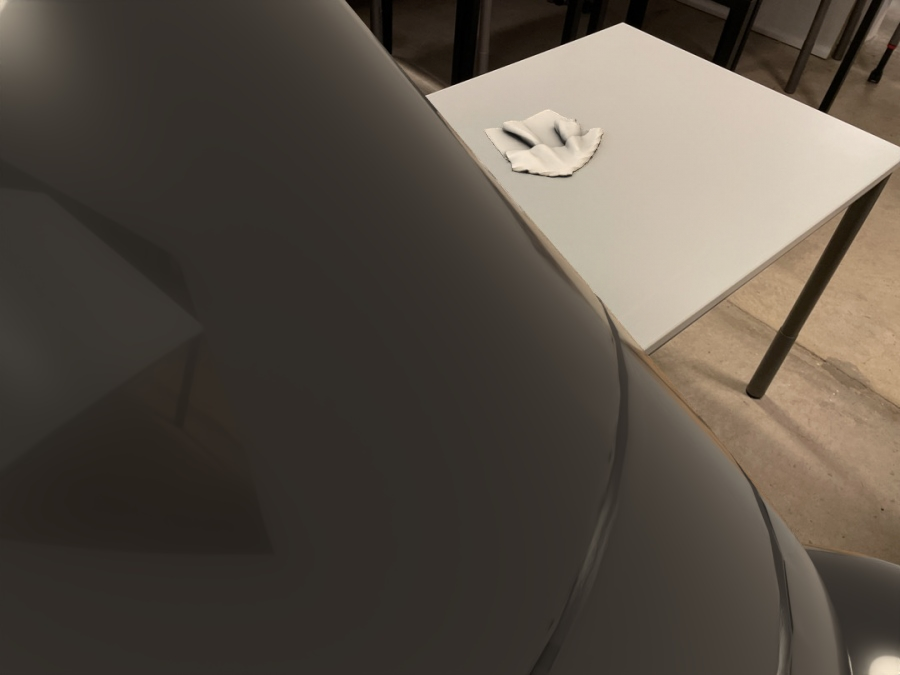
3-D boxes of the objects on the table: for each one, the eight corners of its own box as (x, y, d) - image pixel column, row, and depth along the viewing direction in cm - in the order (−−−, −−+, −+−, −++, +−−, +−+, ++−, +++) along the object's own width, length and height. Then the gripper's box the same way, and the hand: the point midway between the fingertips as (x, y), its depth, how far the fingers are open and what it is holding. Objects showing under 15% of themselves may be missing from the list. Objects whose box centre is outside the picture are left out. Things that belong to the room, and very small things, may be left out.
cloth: (507, 180, 100) (509, 166, 98) (475, 112, 115) (476, 98, 113) (632, 174, 104) (636, 160, 102) (585, 108, 119) (588, 95, 117)
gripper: (537, 429, 29) (401, 413, 44) (225, 599, 23) (187, 514, 38) (591, 580, 30) (440, 514, 45) (303, 781, 24) (237, 630, 39)
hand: (324, 514), depth 41 cm, fingers open, 8 cm apart
